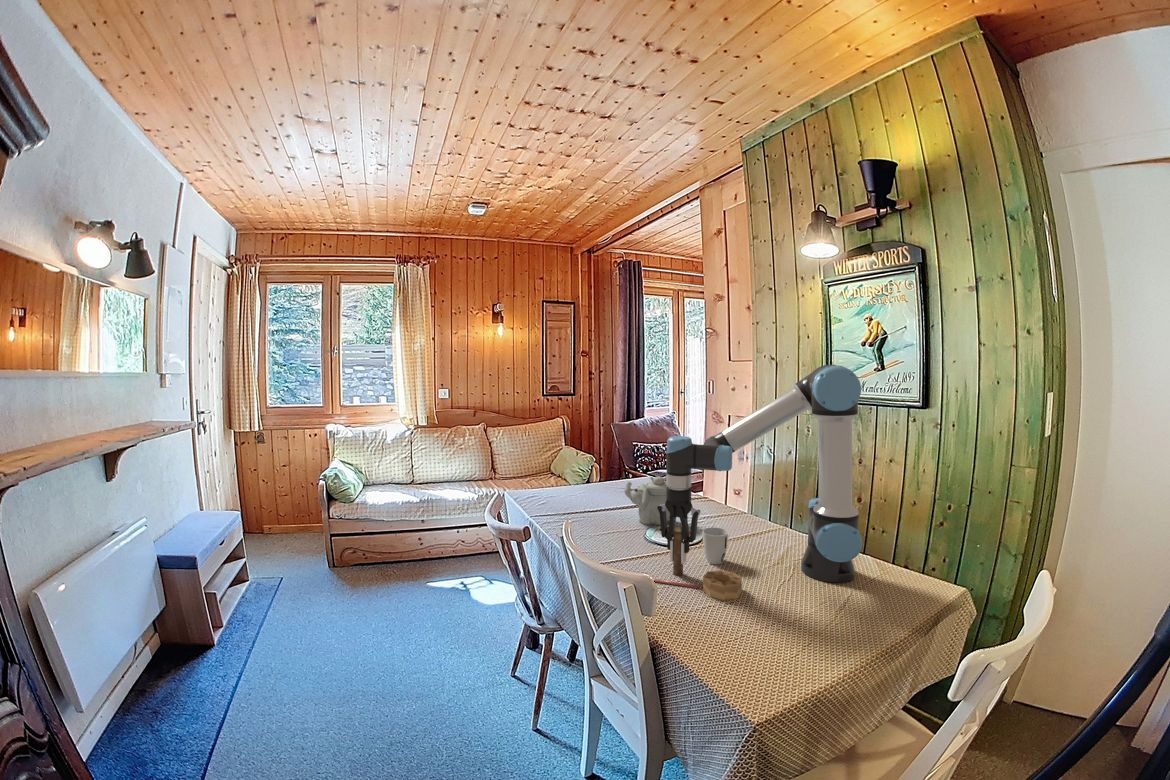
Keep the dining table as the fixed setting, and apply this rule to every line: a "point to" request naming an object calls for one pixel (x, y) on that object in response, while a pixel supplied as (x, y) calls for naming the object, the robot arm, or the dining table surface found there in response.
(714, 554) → the cup
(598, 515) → the dining table surface
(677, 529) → the brown rod
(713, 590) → the wooden ring block
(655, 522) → the teapot
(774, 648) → the dining table surface
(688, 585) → the thin red rod
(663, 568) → the dining table surface
